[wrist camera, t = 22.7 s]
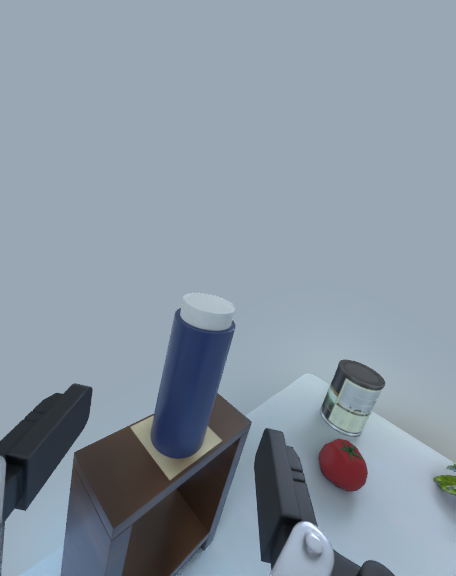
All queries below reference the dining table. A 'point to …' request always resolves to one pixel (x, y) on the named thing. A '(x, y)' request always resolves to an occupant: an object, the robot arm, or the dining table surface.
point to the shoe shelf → (149, 499)
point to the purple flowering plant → (447, 481)
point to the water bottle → (192, 374)
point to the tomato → (343, 465)
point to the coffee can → (351, 397)
